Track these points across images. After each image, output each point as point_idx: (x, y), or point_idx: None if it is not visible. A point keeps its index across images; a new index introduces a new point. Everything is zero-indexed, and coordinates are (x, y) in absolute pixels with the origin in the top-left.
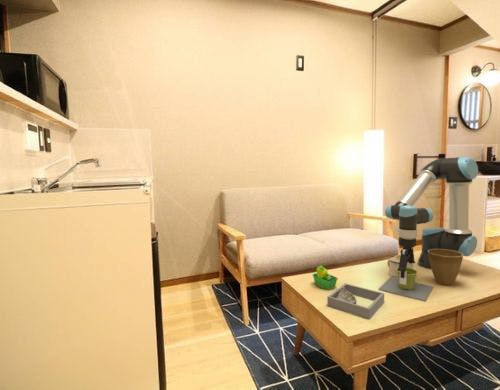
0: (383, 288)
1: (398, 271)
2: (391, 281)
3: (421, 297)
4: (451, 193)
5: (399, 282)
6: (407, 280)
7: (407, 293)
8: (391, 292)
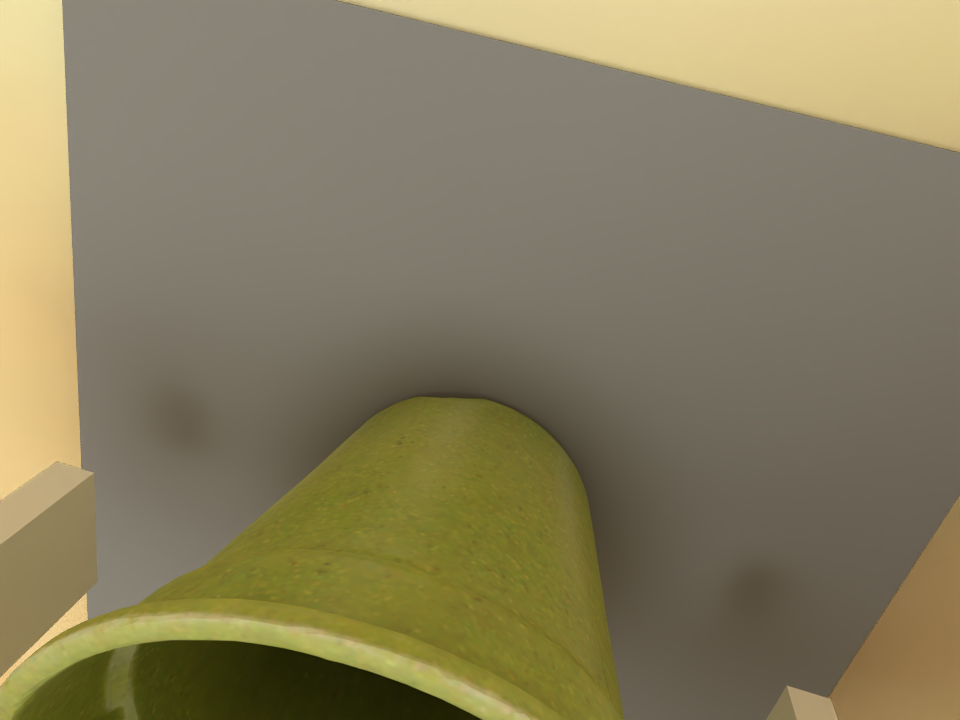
0: (158, 56)
1: (30, 665)
2: (730, 233)
3: None
4: None
5: (350, 445)
6: (209, 660)
7: (186, 491)
8: (78, 232)
